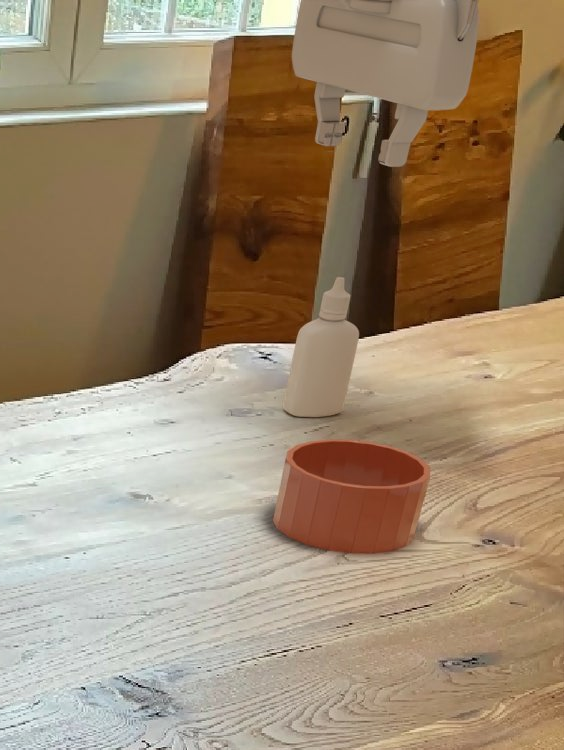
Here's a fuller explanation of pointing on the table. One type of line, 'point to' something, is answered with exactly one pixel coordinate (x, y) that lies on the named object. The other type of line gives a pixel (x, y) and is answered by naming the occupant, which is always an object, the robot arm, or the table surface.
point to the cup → (351, 496)
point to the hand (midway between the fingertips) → (358, 154)
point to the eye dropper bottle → (323, 359)
